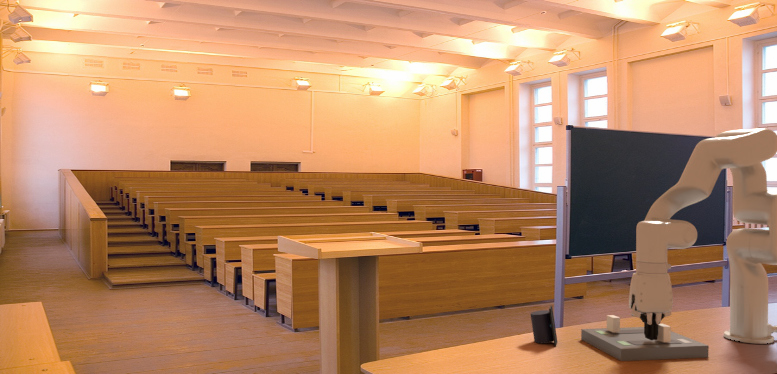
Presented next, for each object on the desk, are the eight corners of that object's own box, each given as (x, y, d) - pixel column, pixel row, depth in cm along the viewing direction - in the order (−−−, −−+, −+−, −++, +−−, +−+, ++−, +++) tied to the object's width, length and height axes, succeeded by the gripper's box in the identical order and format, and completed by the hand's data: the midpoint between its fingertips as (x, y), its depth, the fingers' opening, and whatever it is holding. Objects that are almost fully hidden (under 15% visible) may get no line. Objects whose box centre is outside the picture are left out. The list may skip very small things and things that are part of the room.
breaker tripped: (662, 338, 169) (662, 323, 169) (670, 342, 166) (670, 326, 166) (655, 338, 169) (655, 323, 169) (663, 342, 165) (663, 326, 165)
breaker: (613, 329, 180) (613, 315, 180) (619, 332, 176) (619, 317, 176) (606, 329, 180) (606, 315, 180) (613, 332, 176) (613, 318, 176)
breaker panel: (659, 336, 186) (659, 326, 185) (708, 357, 164) (708, 345, 164) (581, 339, 182) (581, 328, 182) (621, 360, 160) (621, 348, 160)
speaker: (564, 341, 178) (560, 304, 178) (555, 347, 174) (551, 308, 174) (539, 340, 183) (535, 304, 183) (530, 345, 178) (526, 308, 179)
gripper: (669, 266, 171) (669, 334, 172) (617, 267, 169) (617, 336, 169) (686, 270, 164) (686, 341, 164) (632, 271, 162) (632, 343, 162)
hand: (651, 338), depth 167 cm, fingers closed
